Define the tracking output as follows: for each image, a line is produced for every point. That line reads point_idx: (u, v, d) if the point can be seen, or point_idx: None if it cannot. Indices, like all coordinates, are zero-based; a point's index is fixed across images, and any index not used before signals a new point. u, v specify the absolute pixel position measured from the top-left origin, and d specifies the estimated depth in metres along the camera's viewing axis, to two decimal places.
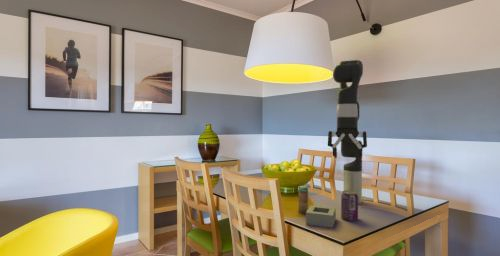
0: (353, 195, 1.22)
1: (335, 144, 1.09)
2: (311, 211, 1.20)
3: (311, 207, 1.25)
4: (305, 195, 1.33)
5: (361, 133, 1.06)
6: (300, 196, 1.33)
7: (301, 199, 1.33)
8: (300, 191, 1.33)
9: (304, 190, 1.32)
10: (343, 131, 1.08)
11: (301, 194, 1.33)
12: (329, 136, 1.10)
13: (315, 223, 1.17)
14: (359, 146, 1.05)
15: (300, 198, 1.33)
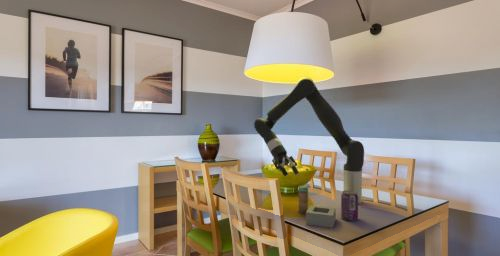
0: (353, 195, 1.22)
1: None
2: (311, 211, 1.20)
3: (311, 207, 1.25)
4: (305, 195, 1.33)
5: None
6: (300, 196, 1.33)
7: (301, 199, 1.33)
8: (300, 191, 1.33)
9: (304, 190, 1.32)
10: None
11: (301, 194, 1.33)
12: None
13: (315, 223, 1.17)
14: None
15: (300, 198, 1.33)
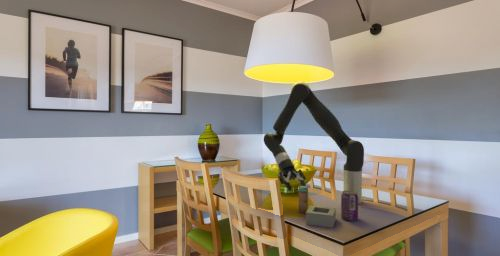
0: (353, 195, 1.22)
1: None
2: (311, 211, 1.20)
3: (311, 207, 1.25)
4: (305, 195, 1.33)
5: None
6: (300, 196, 1.33)
7: (301, 199, 1.33)
8: (300, 191, 1.33)
9: (304, 190, 1.32)
10: None
11: (301, 194, 1.33)
12: None
13: (315, 223, 1.17)
14: None
15: (300, 198, 1.33)
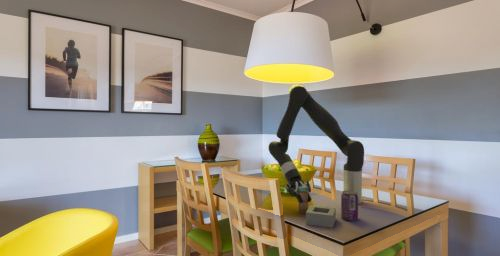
0: (353, 195, 1.22)
1: None
2: (311, 211, 1.20)
3: (311, 207, 1.25)
4: (305, 195, 1.33)
5: None
6: None
7: None
8: (300, 191, 1.33)
9: (304, 190, 1.32)
10: None
11: (301, 194, 1.33)
12: None
13: (315, 223, 1.17)
14: None
15: None
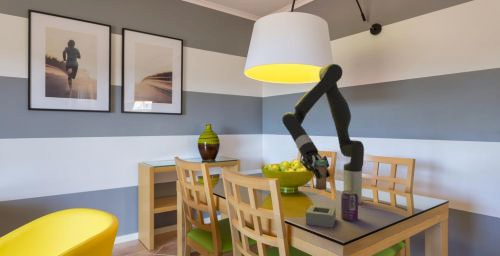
0: (353, 195, 1.22)
1: None
2: (311, 211, 1.20)
3: (311, 207, 1.25)
4: (324, 169, 1.19)
5: None
6: None
7: None
8: (318, 165, 1.20)
9: (323, 164, 1.19)
10: None
11: (319, 169, 1.19)
12: None
13: (315, 223, 1.17)
14: None
15: None
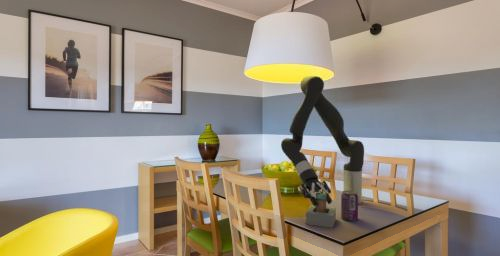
0: (353, 195, 1.22)
1: None
2: (311, 211, 1.20)
3: (311, 207, 1.25)
4: (323, 203, 1.20)
5: None
6: (318, 204, 1.20)
7: (319, 207, 1.20)
8: (318, 199, 1.20)
9: (323, 198, 1.19)
10: None
11: (319, 202, 1.20)
12: None
13: (315, 223, 1.17)
14: None
15: (318, 206, 1.20)
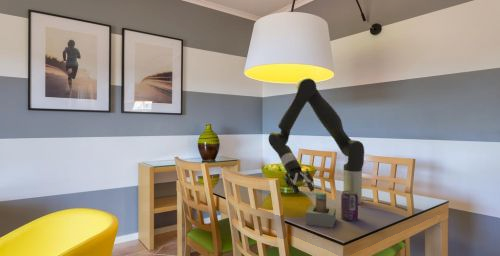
0: (353, 195, 1.22)
1: None
2: (311, 211, 1.20)
3: (311, 207, 1.25)
4: (323, 203, 1.20)
5: None
6: (318, 204, 1.20)
7: (319, 207, 1.20)
8: (318, 199, 1.20)
9: (323, 198, 1.19)
10: None
11: (319, 202, 1.20)
12: None
13: (315, 223, 1.17)
14: None
15: (318, 206, 1.20)
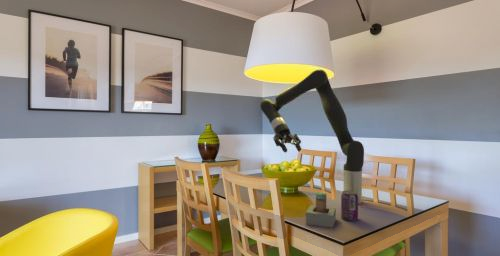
0: (353, 195, 1.22)
1: None
2: (311, 211, 1.20)
3: (311, 207, 1.25)
4: (323, 203, 1.20)
5: None
6: (318, 204, 1.20)
7: (319, 207, 1.20)
8: (318, 199, 1.20)
9: (323, 198, 1.19)
10: None
11: (319, 202, 1.20)
12: None
13: (315, 223, 1.17)
14: None
15: (318, 206, 1.20)
